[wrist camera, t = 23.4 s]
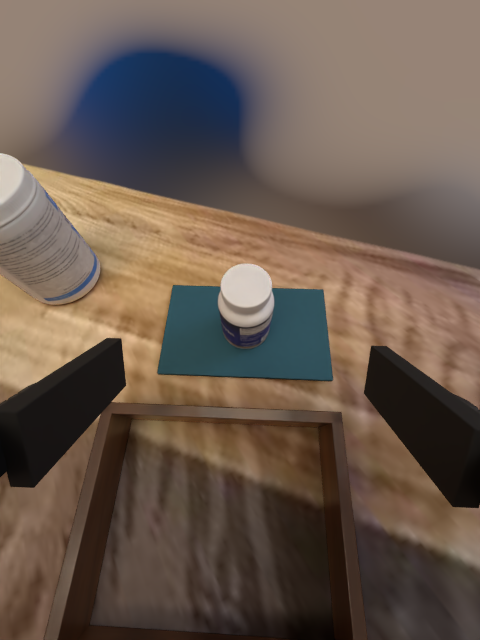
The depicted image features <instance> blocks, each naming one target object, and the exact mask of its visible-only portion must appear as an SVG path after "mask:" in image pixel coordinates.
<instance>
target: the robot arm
mask: <svg viewBox="0 0 480 640" xmlns="http://www.w3.org/2000/svg"><path fill="white" fill-rule="evenodd" d="M125 386H126V380H125V371H124V361H123V351H122V341H121V339H120V338H106V339H105V340H103V341H102V342H100V343H99V344H97V345H95V346H94V347H92V348H91V349H89V350H88V351H86V352H84V353H83V354H81V355H80V356H78V357H76V358H75V359H73V360H72V361H70V362H69V363H67V364H65V365H64V366H62V367H61V368H59V369H58V370H56V371H54V372H53V373H51V374H50V375H48V376H47V377H45V378H43V379H42V380H40V381H39V382H37V383H35V384H32V385H30V386H28V387H26V388H25V389H23V390H21V391H20V392H18V394H15V395H13V396H12V397H10V398H9V399H8V400H5V401H4V402H2V403H1V404H0V477H1V476H2V475H3V474H4V473H5V472H6V471H7V474H8V478H9V482H10V486H11V487H30V488H34V487H35V486H36V485H37V484H38V483H39V481H40V480H41V479H42V478H43V477H44V476H45V475H46V474H47V473H48V471H49V470H50V469H51V468H52V467H53V466H54V465H55V464H56V463H57V461H58V460H59V459H60V458H61V457H62V456H63V455H64V454H65V453H66V451H67V450H68V449H69V448H70V447H71V446H72V445H73V444H74V443H75V441H76V440H77V439H78V438H79V437H80V436H81V435H82V434H83V433H84V431H85V430H86V429H87V428H88V427H89V426H90V425H91V424H92V423H93V421H94V420H95V419H96V418H97V417H98V416H99V415H100V414H101V413H102V411H103V410H104V409H105V408H106V407H107V406H108V405H109V404H110V403H111V401H112V400H113V399H114V398H115V397H116V396H117V395H118V394H119V393H120V391H121V390H122V389H123V388H124V387H125ZM364 394H365V395H366V397H367V398H368V399H369V400H370V402H371V403H372V404H373V406H374V407H375V408H376V409H377V411H378V412H379V413H380V415H381V416H382V417H383V418H384V420H385V421H386V422H387V423H388V425H389V426H390V427H391V429H392V430H393V431H394V432H395V434H396V435H397V436H398V438H399V439H400V440H401V441H402V443H403V444H404V445H405V446H406V448H407V449H408V450H409V452H410V453H411V454H412V455H413V457H414V458H415V459H416V460H417V462H418V463H419V464H420V466H421V467H422V468H423V469H424V471H425V472H426V473H427V475H428V476H429V477H430V478H431V480H432V481H433V482H434V483H435V485H436V486H437V487H438V489H439V490H440V491H441V492H442V494H443V495H444V496H445V498H446V499H447V500H448V501H449V503H450V504H451V505H452V506H453V507H466V508H479V505H480V410H478V408H477V407H476V406H474V405H473V404H471V403H470V402H469V401H467V400H465V399H463V398H461V397H459V396H457V395H455V394H453V393H450V392H449V391H448V390H446V389H445V388H444V387H442V386H441V385H439V384H438V383H437V382H435V381H434V380H432V379H431V378H430V377H428V376H427V375H426V374H424V373H423V372H421V371H420V370H419V369H417V368H416V367H414V366H413V365H412V364H410V363H409V362H407V361H406V360H405V359H403V358H402V357H401V356H399V355H398V354H396V353H395V352H394V351H392V350H391V349H389V348H388V347H387V346H371V351H370V358H369V364H368V371H367V377H366V384H365V390H364Z"/></svg>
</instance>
